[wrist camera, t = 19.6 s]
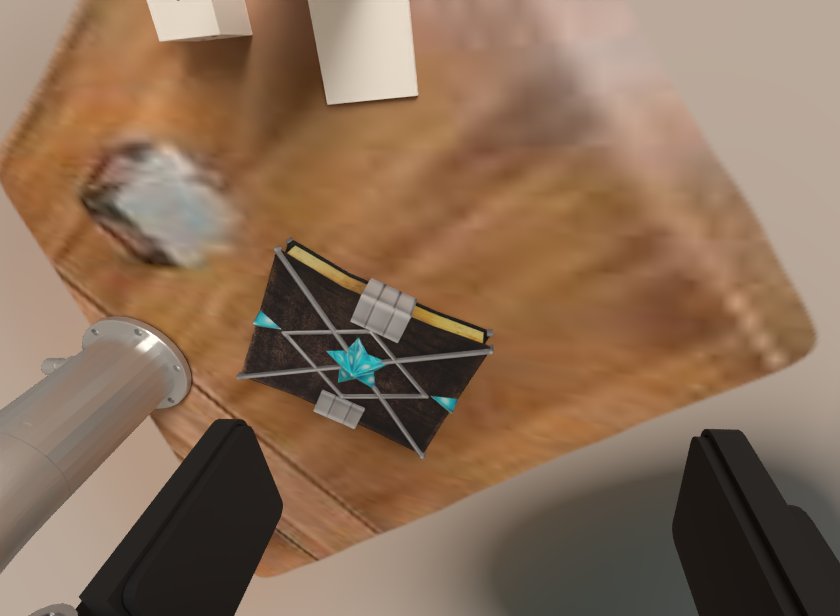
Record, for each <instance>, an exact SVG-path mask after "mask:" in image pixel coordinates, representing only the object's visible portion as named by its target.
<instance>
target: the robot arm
mask: <svg viewBox="0 0 840 616" xmlns="http://www.w3.org/2000/svg"><path fill="white" fill-rule="evenodd" d="M82 348H83V350H82V351H81V352H80V353H78V354H77V355H76V356H71V357H68V358H67V359H64V358H48V359H46V360H44V361H43V363H42V364H41V370H42V372H43V373H44V374H46V375H49V376H47V377H45V378H44V379H43V380H41V381H40V382H38V383H37V384H36V385H34V386H33V387H32V388H30V389H29V390H27V391H26V392H25V393H23V394H22V395H21V396H19V397H18V398H16V399H15V400H14V401H12V402H11V403H10V404H8V405H7V406H5V407H4V408H3V409H1V410H0V574H1V573H2V571H3V570H4V569H5V568H6V566H7V565H8V564H9V563H10V561H11V560H12V559H13V558H14V557H15V555H16V554H17V553H18V552H19V551H20V550H21V549H22V548H23V546H24V545H25V544H26V543H27V542H28V541H29V540H30V538H31V537H32V536H33V535H34V534H35V533H36V532H37V531H38V530H39V529H40V528H41V527H42V526H43V524H44V523H45V522H46V521H47V520H48V519H49V518H50V517H51V516H52V515H53V514H54V513H55V512H56V511H57V510H58V509H59V508H60V506H62V504H63V503H64V502H65V501H66V500H67V499H68V498H69V497H70V496H71V495H72V494H73V493H74V492H75V491H76V490H77V489H78V488H79V487H80V486H81V485H82V484H83V483H84V482H85V481H86V479H88V477H89V476H90V475H91V474H92V473H93V472H94V471H95V470H96V469H97V468H98V467H99V466H100V465H101V464H102V463H103V462H104V461H105V460H106V459H107V458H108V457H109V456H110V455H111V453H112V452H114V451H115V449H116V448H117V447H118V446H119V445H120V444H121V443H122V442H123V441H124V440H125V439H126V438H127V437H128V436H129V435H130V434H131V433H132V432H133V431H134V430H135V429H136V428H137V427H138V426H139V424H140V423H141V422H142V421H143V420H144V419H145V418H146V417H147V416H148V415H149V414H150V413H151V412H152V411H153V410H154V409H164V408H169V407H172V406H174V405H176V404H178V403H179V402H180V401H181V400H182V399H183V398H184V397H185V396H186V395H187V393H188V392H189V390H190V387H191V372H190V368H189V366H188V363H187V361H186V359H185V358H184V356H183V354H182V353H181V351H180V350H179V349H178V348H177V346H176V345H175V344H174V343H173V342H172V341H171V340H170V339H169V338H168V337H167V336H165V335H164V334H163V333H161V332H160V331H159V330H157V329H155V328H154V327H152V326H150V325H148V324H146V323H144V322H141V321H139V320H136V319H132V318H128V317H121V316H112V317H106V318H103V319H100V320H99V321H97V322H96V323H94V324H93V325H91V326H90V327H89V328H88V329H87V330H86V332H85V334H84V336H83V341H82ZM282 509H283V502H282V499H281V497H280V494H279V492H278V489H277V487H276V484H275V482H274V480H273V477H272V475H271V472H270V470H269V467H268V465H267V463H266V460H265V458H264V455H263V453H262V450H261V448H260V446H259V443H258V441H257V438H256V436H255V433H254V431H253V429H252V427H250V426H248V425H247V424H246V422H245V421H244V420H242V419H218V420H215V421H214V422H213V423H212V424H211V426H210V427H209V428H208V430H207V431H206V432H205V434H204V435H203V436H202V437H201V439H200V440H199V441H198V443H197V444H196V445H195V447H194V448H193V449H192V450H191V452H190V453H189V454H188V456H187V457H186V458H185V460H184V461H183V462H182V463H181V465H180V466H179V467H178V469H177V470H176V471H175V473H174V474H173V475H172V476H171V478H170V479H169V480H168V482H167V483H166V484H165V486H164V487H163V488H162V489H161V491H160V492H159V493H158V495H157V496H156V497H155V499H154V500H153V501H152V502H151V504H150V505H149V506H148V508H147V509H146V510H145V512H144V513H143V514H142V515H141V517H140V518H139V519H138V521H137V522H136V523H135V525H134V526H133V527H132V528H131V530H130V531H129V532H128V534H127V535H126V536H125V538H124V539H123V540H122V542H121V543H120V544H119V545H118V547H117V548H116V549H115V551H114V552H113V553H112V554H111V556H110V557H109V558H108V560H107V561H106V562H105V564H104V565H103V566H102V567H101V569H100V570H99V571H98V573H97V574H96V575H95V577H94V578H93V579H92V581H91V582H90V583H89V584H88V586H87V587H86V588H85V590H84V591H83V592H82V594H81V595H80V596H79V598H80V599H81V600H82V602H81V603H80V604H79V605H78V607H77V608H76V609H74V608H73V607H72V606H71V605H67V604H55V605H50V606H47V607H45V608H42V609H40V610H37V611H35V612H34V613H32V614H31V615H29V616H234V615H235V612H236V610H237V608H238V606H239V604H240V602H241V600H242V598H243V595H244V593H245V591H246V589H247V587H248V585H249V583H250V581H251V579H252V576H253V574H254V572H255V570H256V568H257V566H258V564H259V562H260V560H261V557H262V555H263V553H264V551H265V549H266V547H267V545H268V543H269V541H270V538H271V536H272V534H273V532H274V530H275V528H276V526H277V524H278V522H279V519H280V517H281V514H282ZM672 531H673V539H674V543H675V546H676V549H677V552H678V555H679V558H680V561H681V564H682V567H683V570H684V573H685V576H686V578H687V581H688V584H689V587H690V590H691V593H692V596H693V599H694V602H695V605H696V608H697V611H698V614H699V616H840V563H839V561H838V560H837V558H836V557H835V555H834V553H833V552H832V550H831V549H830V547H829V546H828V544H827V543H826V541H825V540H824V538H823V536H822V535H821V533H820V532H819V530H818V529H817V527H816V525H815V524H814V522H813V521H812V520H811V518H810V517H809V516H808V515H807V513H806V512H804V511H803V510H802V509H801V508H799V507H797V506H793V505H787V503H786V502H785V500H784V499H783V497H782V495H781V494H780V492H779V490H778V489H777V487H776V485H775V484H774V482H773V480H772V479H771V477H770V476H769V474H768V472H767V471H766V469H765V467H764V466H763V464H762V462H761V461H760V459H759V458H758V456H757V454H756V453H755V451H754V450H753V448H752V446H751V445H750V443H749V442H748V440H747V438H746V436H745V435H744V434H743V433H742V432H741V431H740V430H724V429H722V430H721V429H704V431H702V433H701V436H700V437H693V438H692V440H691V443H690V448H689V452H688V457H687V461H686V466H685V470H684V475H683V479H682V484H681V488H680V493H679V497H678V501H677V506H676V510H675V515H674V519H673V525H672Z"/></svg>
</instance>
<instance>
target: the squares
mask: <svg viewBox="0 0 840 616" xmlns="http://www.w3.org/2000/svg"><path fill="white" fill-rule="evenodd" d="M308 4H309V9H310V15H311V20H312V25H313V31H314V36H315V41H316V47H317V52H318V57H319V63H320V68H321V73H322V79H323V84H324V89H325V95H326V100H327V105H330V104H340V103H350V102H360V101H369V100H379V99H389V98H399V97H409V96H418V85H417V75H416V65H415V54H414V44H413V33H412V23H411V13H410V2H409V0H308Z"/></svg>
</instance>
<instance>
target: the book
mask: <svg viewBox="0 0 840 616" xmlns="http://www.w3.org/2000/svg"><path fill="white" fill-rule="evenodd" d="M286 242H287V243H288V245H287V248H286V251H285V252H284V251H282V250H280V249H281V248H282V246H281V245H279V246H277V247H276V248H275V249H274V252H275V253H276V254H275V258H274V262H273V265H272V269H271V273H270V276H269V280H268V284H267V288H266V291H265V295H264V298H263V302H262V305H261V309H260V311H259V313H258V315H257V317H256V319H255V321H254V323H253V325H255V330H254V333H253V337H252V340H251V343H250V347H249V350H248V353H247V356H246V359H245V363H244V366H243V369H242V372H239V374H238V375H237V376H236V378H237V379H247V378H249V379H251V380H254V381H257V382H260V383H262V384H265V385H268V386H271V387H273V388H276V389H279V390H282V391H285V392H287V393H290V394H293V395H296V396H298V397H300V398H302V399H305V400H307V401H309V402H311V403H313V404H316V406H315V408H314V412H316V413H318V414H320V415H323V416H325V417H327V418H330V419H332V420H334V421H337V422H339V423H341V424H343V425H346V426H348V427H350V428H353V429H355V428H356V426H357V424H359V425H362V426H364V427H366V428H368V429H370V430H372V431H375V432H377V433H379V434H381V435H383V436H385V437H387V438H389V439H391V440H393V441H395V442H397V443H399V444H401V445H403V446H405V447H407V448H409V449H411V450H413V451H415V452H417V454H418V455H419V457H420V458H421V459H424V458H425V453H426V452H425V450H426V449H427V447H428V445H429V444H430V442H431V440H432V439H433V437H434V436H435V434H436V432H437V431H438V429H439V428H440V426H441V424H442V423H443V421H444V420H445V418H446V417H447V415H448V414H449V412H450V413H453V410H454V408H455V405H456V403H457V400H458V398H459V397H460V395H461V394H462V392H463V391H464V389H465V387H466V386H467V384H468V383H469V381H470V380H471V378H472V377H473V375H474V374H475V372H476V371H477V369H478V368H479V366H480V365H481V363H482V362H483V360H484V359H485V357H486V356H487V354H493V351H494V347H493V345H486V344H485V343H486V341H487V340H488V338H489V336H493V329H489V330H486V329H483V328H480V327H478V326H475V325H473V324H470V323H467V322H464V321H462V320H459V319H456V318H453V317H451V316H448V315H445V314H442V313H440V312H437V311H435V310H432V309H430V308H428V307H425V306H423V305H421V304H419V303H416V302H417V299H415V298H413V297H411V296H409V295H407V294H405V293H403V292H400V291H398V290H396V289H394V288H392V287H390V286H387V285H385V284H383V283H381V282H379V281H377V280H374V279H372V278H371V279H370V281H369V282H368V281H366V280H364V279H362V278H359V277H357V276H355V275H353V274H350V273H348V272H346V271H345V270H343V269H341V268H340V267H338V266H336V265H335V264H333V263H331V262H330V261H328V260H326V259H325V258H323V257H321V256H320V255H318V254H316V253H314V252H313V251H311V250H309V249H308V248H306V247H304V246H303V245H301V244H299V243H297V242H296V241H294V240H293V239H292V238H289V239H287V240H286Z"/></svg>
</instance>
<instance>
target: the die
mask: <svg viewBox="0 0 840 616" xmlns="http://www.w3.org/2000/svg"><path fill="white" fill-rule="evenodd" d="M147 3H148V6H149V9H150V12H151V15H152V18H153V21H154V25H155V28H156V31H157V34H158V37H159V40H160V41H207V40H215V39H224V38H233V37H241V36H250V35H253V34H252V30H251V26H250V21H249V17H248V13H247V8H246V4H245V0H147Z"/></svg>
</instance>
